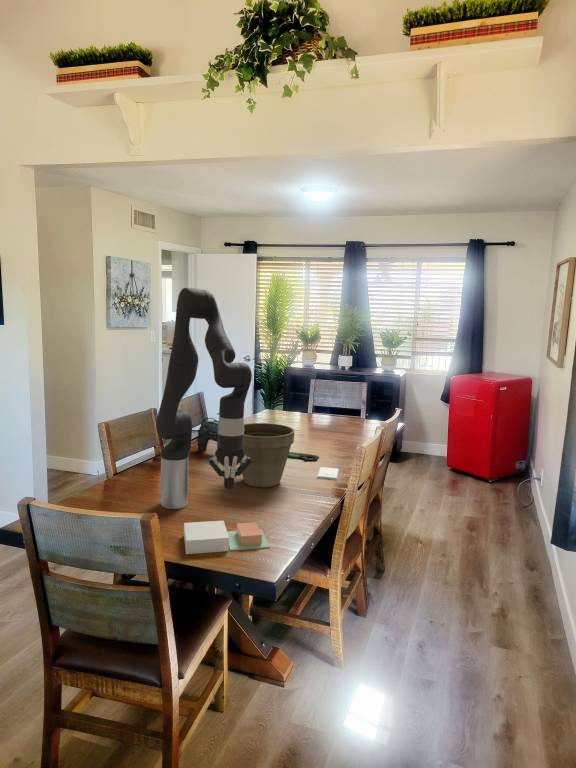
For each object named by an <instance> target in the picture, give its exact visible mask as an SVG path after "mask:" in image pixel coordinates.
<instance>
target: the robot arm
mask: <svg viewBox="0 0 576 768" xmlns="http://www.w3.org/2000/svg"><path fill="white" fill-rule="evenodd" d="M191 319H197V320H198V319H199V320H200V319H201V320H205V321H206V323H207V325H208V327H207V330H206V332H205V336H204V344H205V345H204V346H205V348H206V350H207V352H208V354H209V357H210V358H211V362H212V367H213V379H214V382H215V384H216V385H217V386H218V387H220V388H222V389H233V390H232V392H231V393H227V394H225V395H223V396H222V397H220V399H219V410H218V411H219V412H218V413H219V414H218V420H217V421H218V439H217V442H216V443H217V444H216V447H217V448H216V450H215V453H214V455H213V456H212V457H208V458H207V461H208V464H209V465H210V467H212V469H213V470H214V471H215V473H216V474H217V475H218V476H219V477H222V478H223V487H224V489H226V490H225V491H232V489H233V488H235V478H236V477H240V476H242V473H243V471H244V470H245V469H246V468H247V467H248V465H249V464H250V463H251V459H250V457H247V456H246V455H245V453H244V450H243V443H244V424H245V420H244V418H245V403H246V399H247V396H248V392H249V390H250V386H251V382H252V378H253V376H252V375H253V371H252V369H251V367H250V366H249V364H248V363H246V362H233V361H234V360H235V359H236V352H235V351H236V350H235V349H234V347H233V345H232V343H231V341H230V339H229V337H228V336H227V334H226V331H225V328H224V324H223V320H222V318H221V313H220V311H219V307H218V303H217V300H216V297H215V296H214V294H213V293H212V291H210V290H207V289H199V288H193V287H184V288H181V290H180V292H179V293H178V297H177V302H176V310H175V321H174V330H173V339H172V344H171V345H172V346H171V350H170V354H169V355H170V356H169V359H168V360H169V361H168V366H167V367H168V368H167V375H166V380H165V384H164V385H165V386H164V391H163V394H162V395H163V396H162V399H161V402H160V405H159V409H158V413H157V417H156V421H155V422H156V423H155V426H156V427H155V428H156V434H157V435H158V437H159V438H160V439H162V440H170V441H169V443H167V444H166V445H165V446H163V447H162V448H161V451H160V506H161V507H162V508H163V509H166V510H180V509H183V508H186V507H187V506H188V501H189V499H188V497H189V455H190V450H191V447H192V437H193V436H192V434H193V422H192V420H193V419H192V418H191V415H190V413H189V412H188V411H187V410H185V409H179V406H180V402H181V400H182V399H183V397H184V396H185V395H186V393H187V392H188V390H189V389H190V387H191V386H192V384H194V383H193V382H194V381H195V379H196V376H197V371H198V367H199V354H198V351H197V348H196V347H195V345H194V342H193V340H192V338H191V337H192V336H191V333H190V324H191ZM242 458H243V460H242ZM217 460H218V461H217ZM241 460H242V464H241V465H240V463H239V462H240V461H241ZM218 462H219V464H221V466H223V470H221V468H220V467H219V465H218V464H217V463H218ZM237 466H238V467H237Z"/></svg>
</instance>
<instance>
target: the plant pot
mask: <svg viewBox="0 0 576 768" xmlns="http://www.w3.org/2000/svg"><path fill="white" fill-rule="evenodd" d="M294 441H295V429H294V428H292V427H291V426H287V425H283V424H278V423H270V422H269V423H268V422H256V423H255V422H254V423H252V422H250V423H244V443H243V450H244V453H245V455H246V456H247V457H250V459H251V463H250V464H249V465H248V467H247V468H246V469H245V470H244V471H243V473H242V474H241V477H242V479H243V482H244V483H245V484H247V485H248V486H251V487H256V488H270V487H274V486H277V485H279V484H280V482H281V480H282V478H283V473H284V470H285V468H286V463H287V460H288V459H289V458H288V454H289V452H291V451H290V449H291V446H292V445H293V444H294ZM242 460H243V458H242ZM242 460H241V461H240V462H239V466H240V465H241V464H242Z"/></svg>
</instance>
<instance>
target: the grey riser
mask: <svg viewBox="0 0 576 768" xmlns="http://www.w3.org/2000/svg"><path fill="white" fill-rule="evenodd" d="M227 531H228V530H227V526H226V524H225V520H213V521H211V520H209V521H195V522H184V523H183V540H184V547H185V554H186V555H192V554H206V553H207V554H208V553H217V552H219V553H220V552H221V553H222V552H229V551H230V548H229V536H228V533H227Z"/></svg>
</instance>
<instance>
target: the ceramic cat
mask: <svg viewBox="0 0 576 768" xmlns="http://www.w3.org/2000/svg"><path fill="white" fill-rule="evenodd" d="M216 415H218V416H219V412H218V413H217V414H216ZM206 420H208V421H206ZM218 421H219V420H216V419H215V418H213V417H205V418H204V419H203V420H202V422H201V425H200V426H199V429H198V433H197V438H196V439H197V451H198V452H202V453H203V452H206V451H207V446H208V444H209V441H214V442H216V443H217V439H218Z"/></svg>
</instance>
